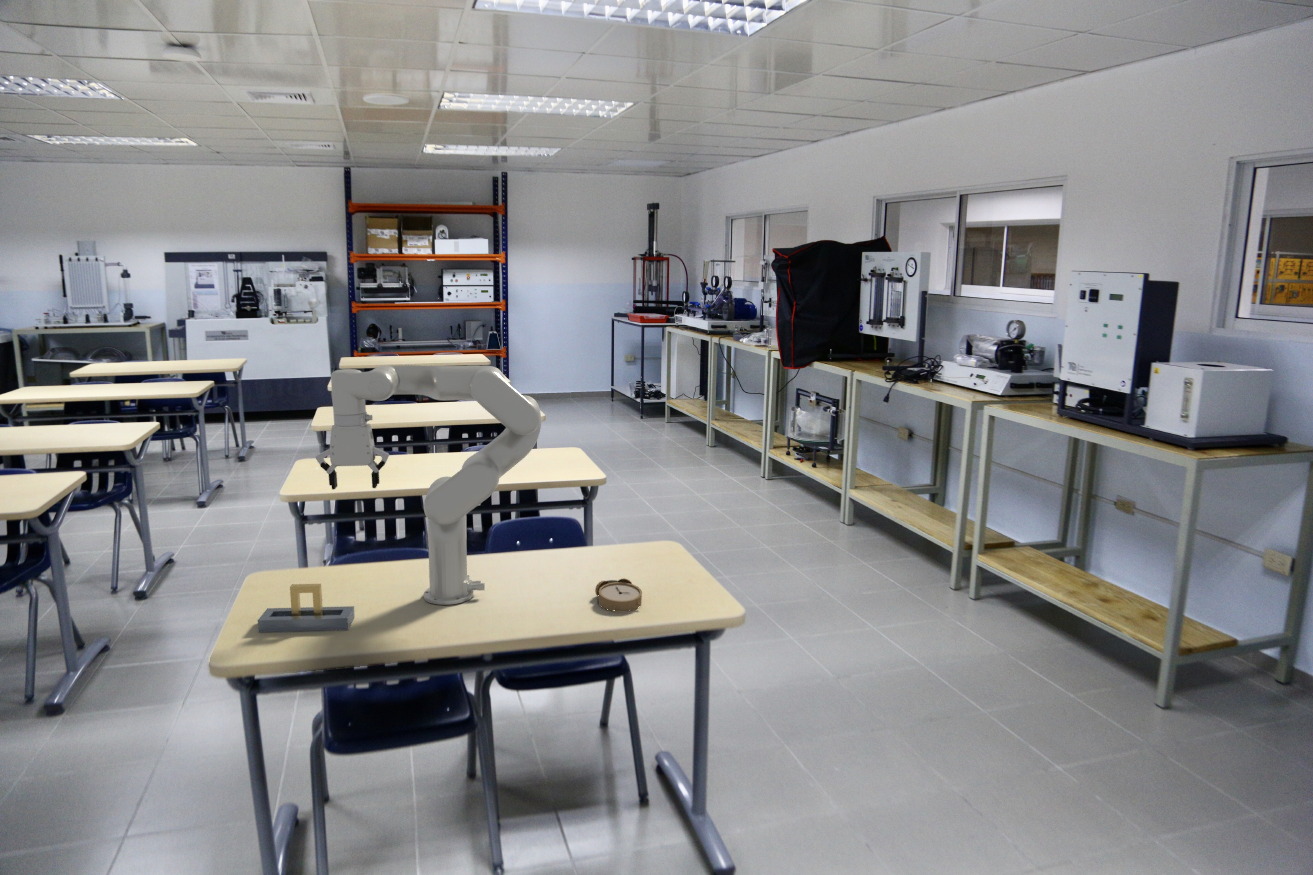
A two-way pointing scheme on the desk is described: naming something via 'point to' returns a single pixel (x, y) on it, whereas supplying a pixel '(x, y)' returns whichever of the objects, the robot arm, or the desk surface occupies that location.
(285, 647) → the desk surface
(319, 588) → the wooden u-shaped block
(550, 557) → the desk surface
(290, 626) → the rail
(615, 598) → the alarm clock
